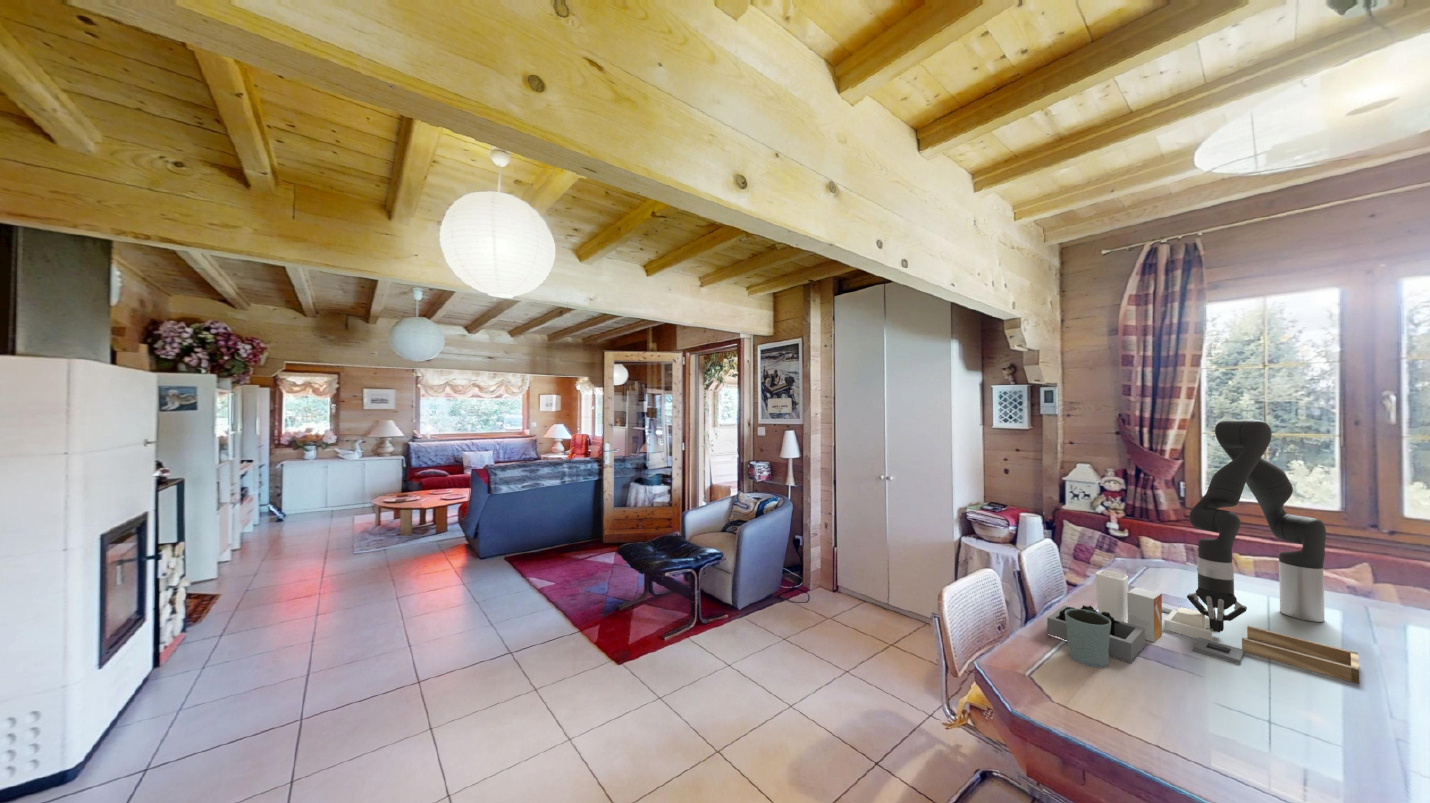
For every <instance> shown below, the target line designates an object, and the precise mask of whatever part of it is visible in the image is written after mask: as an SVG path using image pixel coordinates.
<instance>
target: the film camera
mask: <svg viewBox="0 0 1430 803" xmlns="http://www.w3.org/2000/svg"><path fill="white" fill-rule="evenodd" d="M1069 609H1075V607H1073V606H1068V607H1066V608H1065V609H1063V610H1062V611H1060V613H1059V619H1060V620H1063V621H1066V619H1065V611H1066V610H1069ZM1080 609H1084V610H1089V611H1093V612H1096V613H1099V611H1097V609H1094V607H1093V606H1091V605H1087V606H1086V605H1082V607H1081V608H1080ZM1099 614H1102V615H1104V616H1106V617H1107V618H1109V619H1110V620H1111V629H1110V635H1112V636H1115V634H1114V624H1115V623H1118V624H1120V622H1118V621H1115V620H1114V618H1113V617H1111V616H1110V614H1109V612H1102V613H1099Z"/></svg>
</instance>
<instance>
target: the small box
mask: <svg viewBox="0 0 1430 803" xmlns="http://www.w3.org/2000/svg"><path fill="white" fill-rule="evenodd" d="M1162 594H1163V593H1162V592H1159V591H1154V590H1150V589H1146V588H1142V587H1138V586H1135V587H1133V588H1131V589H1130V590H1128V592H1127V602H1128V605H1127V623H1128V624H1132V625H1135V626H1139V627H1142V628H1145V641H1149V642H1151V643H1152V642H1153V643H1155V642H1156V641H1157V640H1158V639H1160V637H1162V636H1163V612H1162V607H1163V603H1162V602H1163V598H1162V597H1163V596H1162Z"/></svg>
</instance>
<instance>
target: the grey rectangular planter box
mask: <svg viewBox="0 0 1430 803" xmlns="http://www.w3.org/2000/svg"><path fill="white" fill-rule="evenodd" d="M1066 607H1069V606H1067V605H1062V606H1061V607H1060V608H1058V609H1057V610H1056V611H1054V612H1053V613H1051V614H1050V615H1049V616H1047V618H1046V621H1047V622H1046V623H1047V624H1046V625H1047V627H1046V628H1047V635H1048V634H1050V635H1053V636H1057V637H1060V638H1062V639H1064V640H1067V627H1066V626H1067V625H1066V621H1063V620H1060V619H1059V613H1060V611H1062V610H1063V609H1065V608H1066ZM1074 608H1075V607H1074ZM1075 609H1077V608H1075ZM1115 621H1118V620H1115ZM1118 622H1120V624H1118V623H1115V624H1114V634H1115V636H1112V635H1110V639H1109V648H1108V653H1109V657H1110V658H1113V657H1114V658H1113V659H1116V658H1117V660H1120V661H1122V660H1123V662H1125V661H1126V662H1125V663H1128V664H1133V663H1134V661H1135V660H1136V659H1137V658H1136V657H1138V656H1139V655H1140V654H1141V653H1142V652H1143V650H1144V649H1145V648H1146V640H1145V628H1142V627H1139V626H1135V625H1132V624H1128V622H1125V621H1123V622H1121V621H1118ZM1067 641H1068V640H1067ZM1143 648H1144V649H1143ZM1132 662H1133V663H1132Z"/></svg>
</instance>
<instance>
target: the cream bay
mask: <svg viewBox="0 0 1430 803" xmlns="http://www.w3.org/2000/svg"><path fill="white" fill-rule="evenodd" d="M1172 609H1173V610H1172V611H1171V612H1170V613H1168V615H1167V616H1166V618H1165V619H1164V621H1163V622H1164V624H1163V625H1164V630H1165V631H1168V632H1172V633H1175V632H1177V633H1176V634H1180V635H1182V634H1183V636H1186V637H1190V638H1194V639H1196V640H1197V639H1198V637H1200V638H1204V639H1207V640H1211V641H1213V630H1212V629H1211V628H1210V623H1209V617H1208V616H1205V629H1206V628H1207V629H1206V630H1205V629H1201V628H1198V627H1194V626H1190V625H1186V624H1183V623H1179V622H1177V611H1178V609H1176V608H1172ZM1208 629H1210V630H1208Z"/></svg>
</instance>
